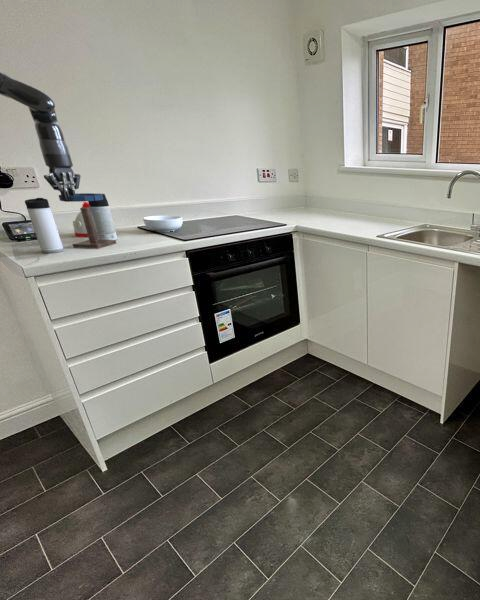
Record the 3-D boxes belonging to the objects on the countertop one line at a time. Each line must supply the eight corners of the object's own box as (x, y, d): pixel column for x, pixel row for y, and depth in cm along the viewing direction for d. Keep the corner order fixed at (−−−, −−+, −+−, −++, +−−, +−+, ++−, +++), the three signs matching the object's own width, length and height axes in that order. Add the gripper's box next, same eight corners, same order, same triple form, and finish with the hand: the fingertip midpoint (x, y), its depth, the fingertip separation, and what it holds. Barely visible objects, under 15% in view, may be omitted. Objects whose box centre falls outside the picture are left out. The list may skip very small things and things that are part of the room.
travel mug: (67, 249, 141) (51, 197, 133) (59, 252, 135) (42, 199, 128) (47, 249, 139) (29, 197, 131) (38, 253, 133) (19, 199, 126)
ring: (85, 202, 135) (83, 196, 134) (51, 200, 135) (49, 195, 134) (110, 198, 147) (109, 193, 147) (79, 197, 147) (78, 192, 146)
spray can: (117, 237, 162) (105, 193, 155) (117, 240, 158) (105, 194, 150) (99, 239, 159) (86, 193, 151) (98, 242, 154) (85, 194, 146)
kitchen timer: (85, 238, 159) (75, 204, 154) (69, 234, 165) (59, 202, 159) (119, 233, 171) (110, 202, 166) (103, 230, 177) (94, 199, 171)
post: (98, 248, 143) (87, 209, 138) (73, 247, 143) (61, 209, 137) (116, 243, 153) (106, 206, 147) (93, 242, 152) (82, 206, 147)
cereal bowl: (178, 234, 175) (176, 219, 173) (140, 234, 171) (137, 220, 168) (188, 228, 190) (186, 214, 188) (153, 228, 186) (150, 215, 183)
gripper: (62, 153, 136) (75, 199, 142) (27, 152, 123) (43, 202, 129) (81, 153, 136) (94, 199, 142) (48, 152, 123) (64, 203, 130)
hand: (70, 201), depth 136 cm, fingers closed on ring, 2 cm apart
